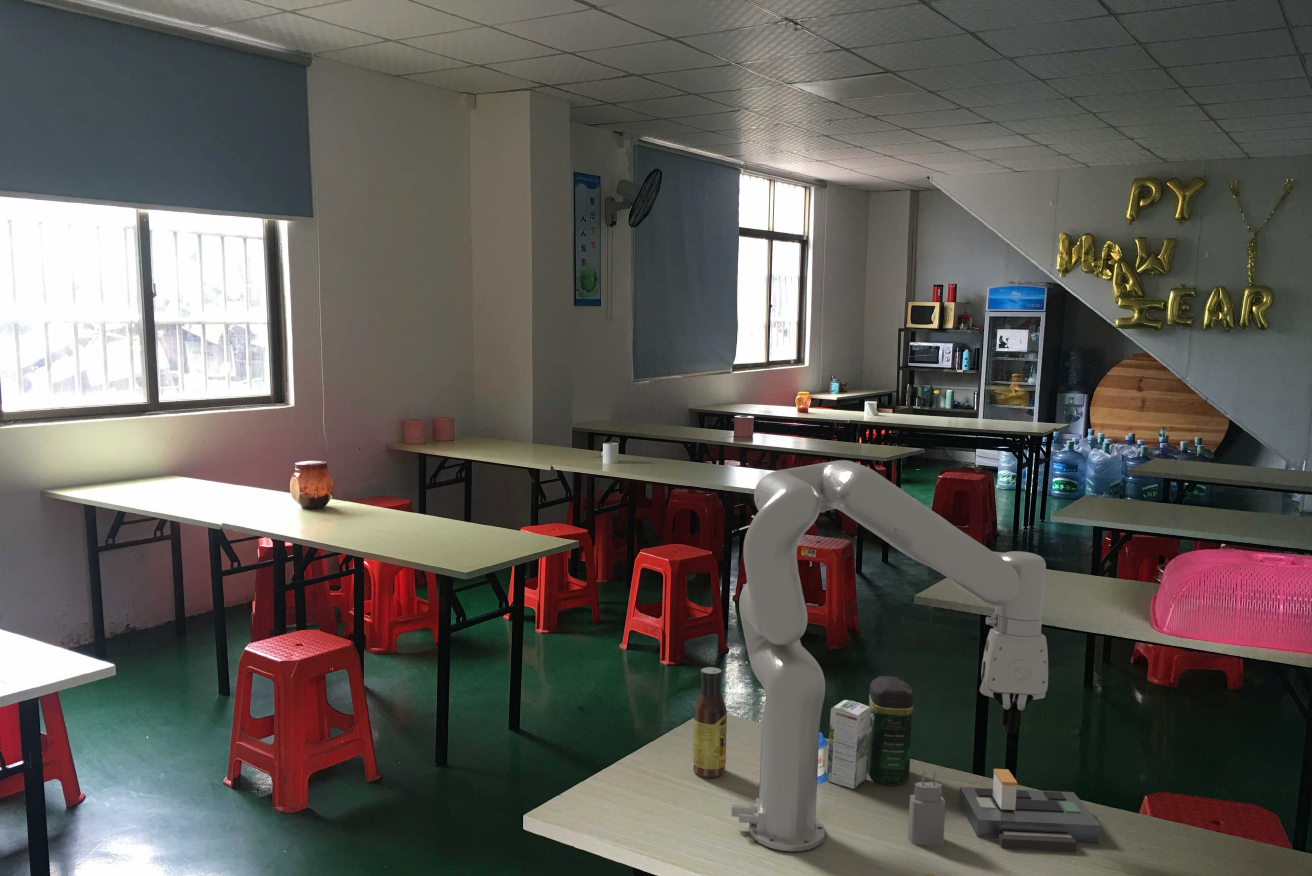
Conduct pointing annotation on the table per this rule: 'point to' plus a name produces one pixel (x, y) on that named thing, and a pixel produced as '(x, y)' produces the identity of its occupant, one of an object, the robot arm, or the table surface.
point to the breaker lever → (1004, 789)
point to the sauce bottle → (710, 726)
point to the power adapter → (926, 814)
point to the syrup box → (848, 744)
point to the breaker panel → (1029, 814)
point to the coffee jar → (890, 730)
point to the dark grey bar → (1037, 841)
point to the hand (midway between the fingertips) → (1009, 728)
